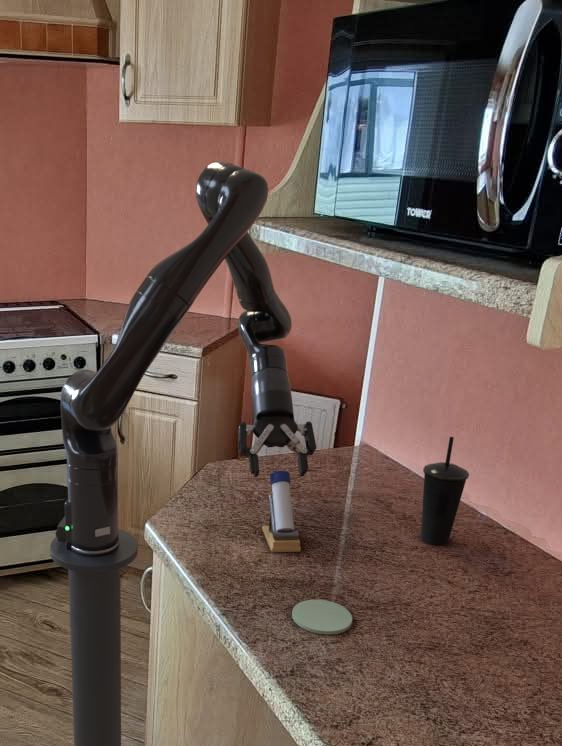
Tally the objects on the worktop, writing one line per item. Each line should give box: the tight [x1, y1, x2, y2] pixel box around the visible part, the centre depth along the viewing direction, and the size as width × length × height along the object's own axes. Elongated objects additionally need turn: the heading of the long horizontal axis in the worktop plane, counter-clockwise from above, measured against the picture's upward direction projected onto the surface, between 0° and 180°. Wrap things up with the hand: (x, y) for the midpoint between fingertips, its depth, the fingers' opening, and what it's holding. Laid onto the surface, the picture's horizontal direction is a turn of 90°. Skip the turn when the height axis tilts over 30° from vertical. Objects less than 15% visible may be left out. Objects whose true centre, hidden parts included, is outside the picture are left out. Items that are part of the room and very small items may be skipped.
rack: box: [261, 494, 302, 553], centre depth 144 cm, size 9×5×8 cm, turn 2°
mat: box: [291, 598, 353, 635], centre depth 121 cm, size 9×9×1 cm
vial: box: [269, 470, 295, 531], centre depth 144 cm, size 10×4×10 cm, turn 2°
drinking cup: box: [420, 436, 470, 546], centre depth 142 cm, size 8×8×20 cm
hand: (279, 475), depth 146 cm, fingers open, 8 cm apart
